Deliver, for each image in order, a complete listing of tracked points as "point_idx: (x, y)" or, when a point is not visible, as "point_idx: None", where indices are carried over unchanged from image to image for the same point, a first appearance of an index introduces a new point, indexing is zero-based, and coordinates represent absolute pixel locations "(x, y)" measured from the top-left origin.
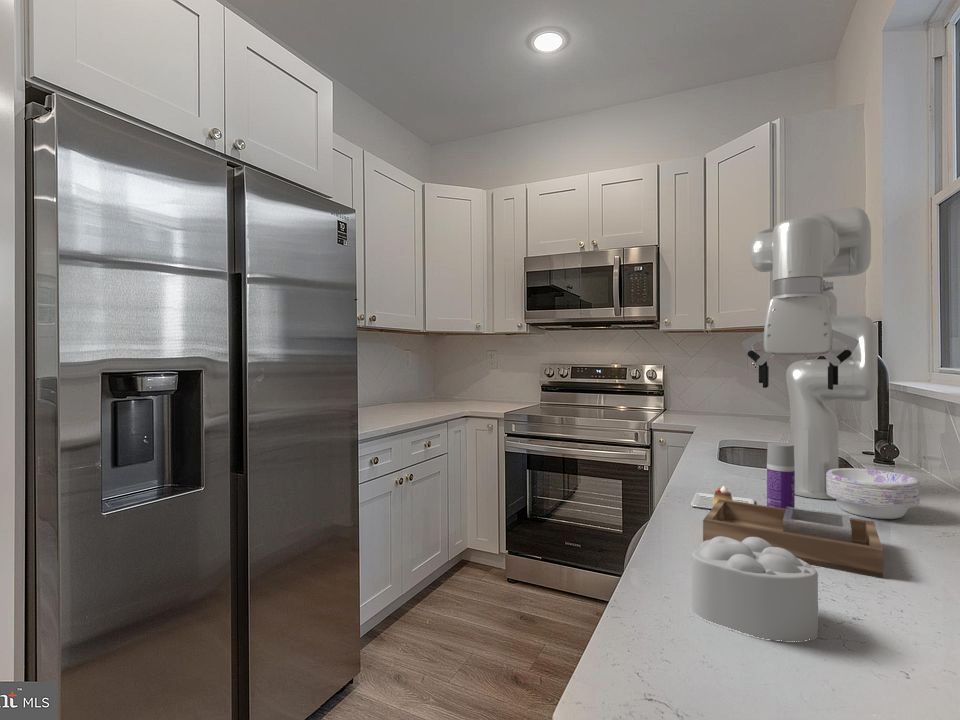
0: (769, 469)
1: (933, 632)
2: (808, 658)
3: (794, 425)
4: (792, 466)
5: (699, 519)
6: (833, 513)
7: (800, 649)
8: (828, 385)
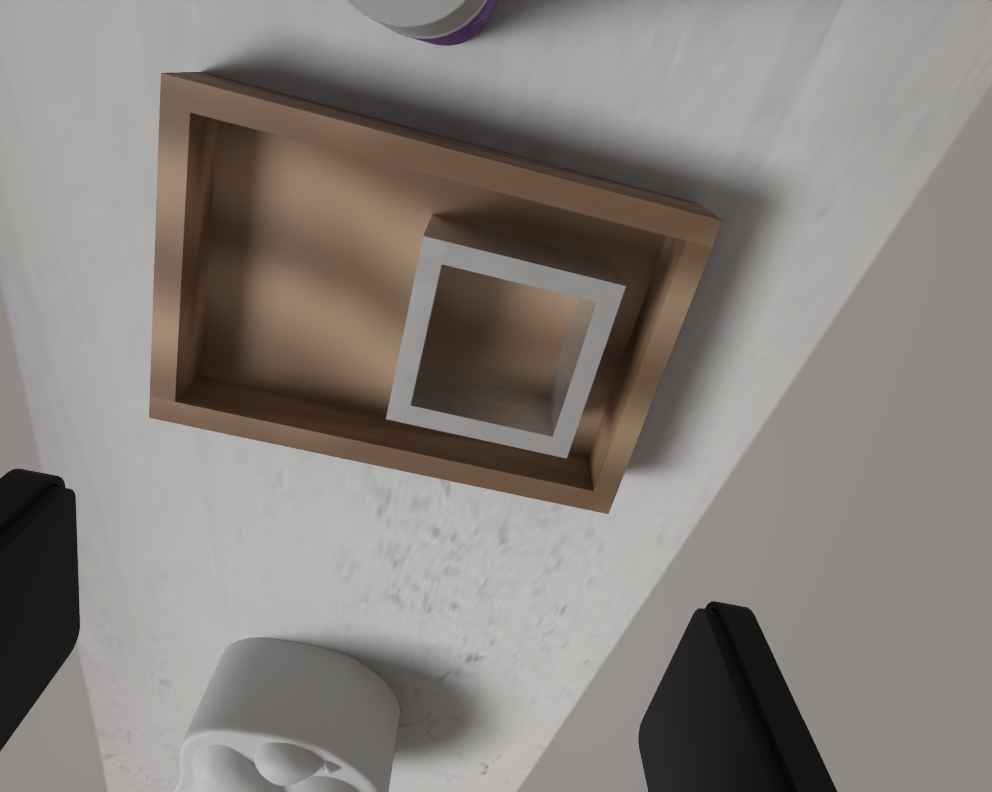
0: None
1: (578, 664)
2: None
3: None
4: (479, 7)
5: (126, 101)
6: (576, 281)
7: None
8: (646, 765)
